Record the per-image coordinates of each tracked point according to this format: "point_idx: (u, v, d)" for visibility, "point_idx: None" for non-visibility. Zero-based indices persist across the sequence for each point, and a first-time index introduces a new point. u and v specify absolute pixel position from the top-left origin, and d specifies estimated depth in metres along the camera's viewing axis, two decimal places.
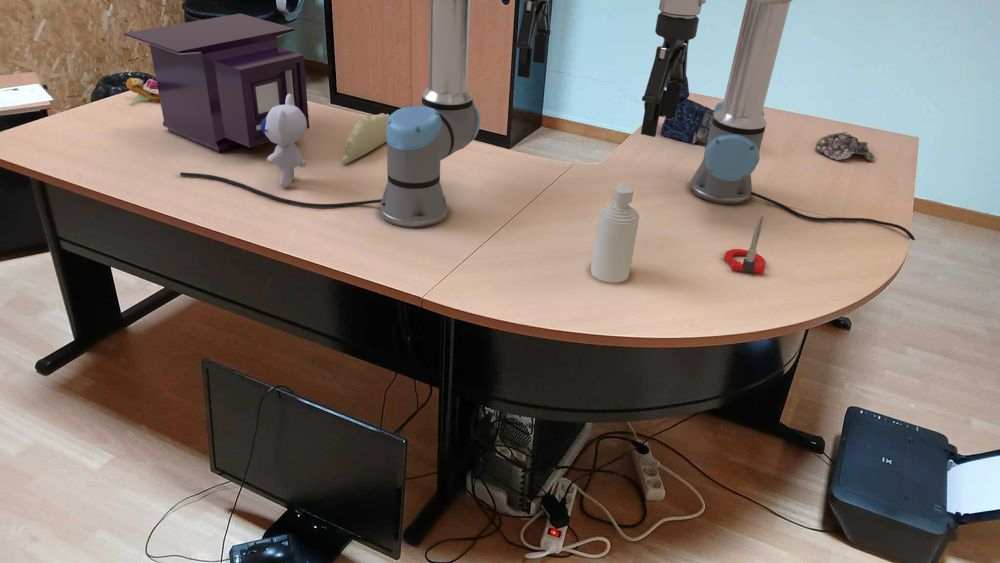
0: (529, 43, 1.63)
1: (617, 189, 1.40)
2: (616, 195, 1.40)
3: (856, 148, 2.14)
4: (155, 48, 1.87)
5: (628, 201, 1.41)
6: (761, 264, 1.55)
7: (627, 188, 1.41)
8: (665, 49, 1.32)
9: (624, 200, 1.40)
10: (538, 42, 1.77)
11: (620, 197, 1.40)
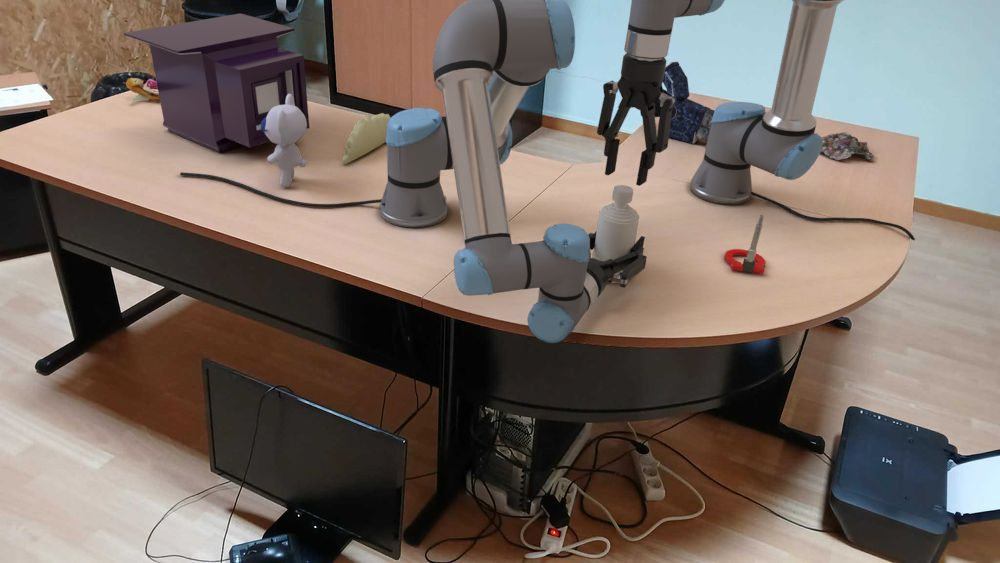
0: (606, 134, 1.37)
1: (617, 189, 1.40)
2: (616, 195, 1.40)
3: (856, 148, 2.14)
4: (155, 48, 1.87)
5: (628, 201, 1.41)
6: (761, 264, 1.55)
7: (627, 188, 1.41)
8: None
9: (624, 200, 1.40)
10: None
11: (620, 197, 1.40)
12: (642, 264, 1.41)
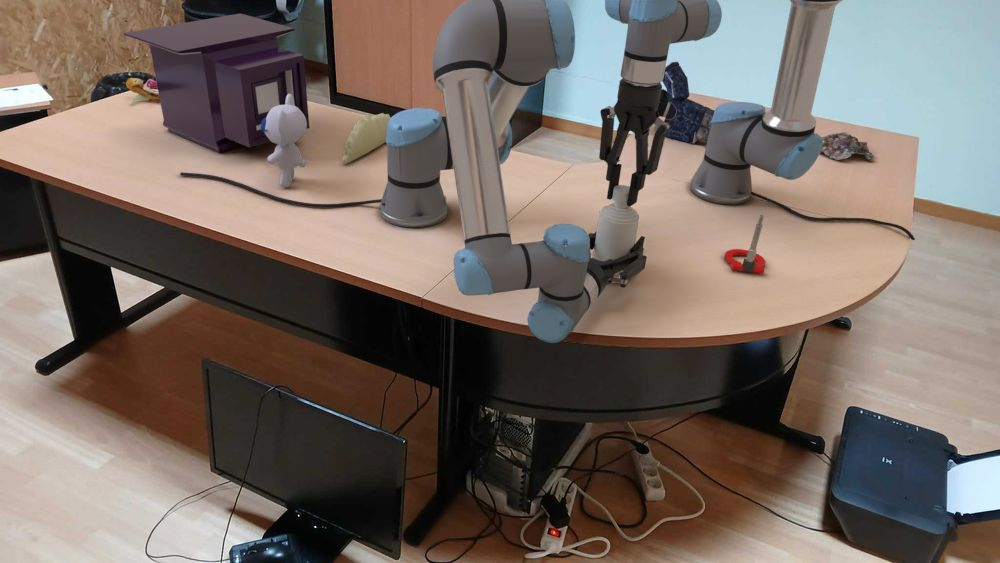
0: (607, 159, 1.39)
1: (617, 189, 1.40)
2: (616, 195, 1.40)
3: (856, 148, 2.14)
4: (155, 48, 1.87)
5: None
6: (761, 264, 1.55)
7: (627, 188, 1.41)
8: None
9: (624, 200, 1.40)
10: None
11: (620, 197, 1.40)
12: (642, 264, 1.41)
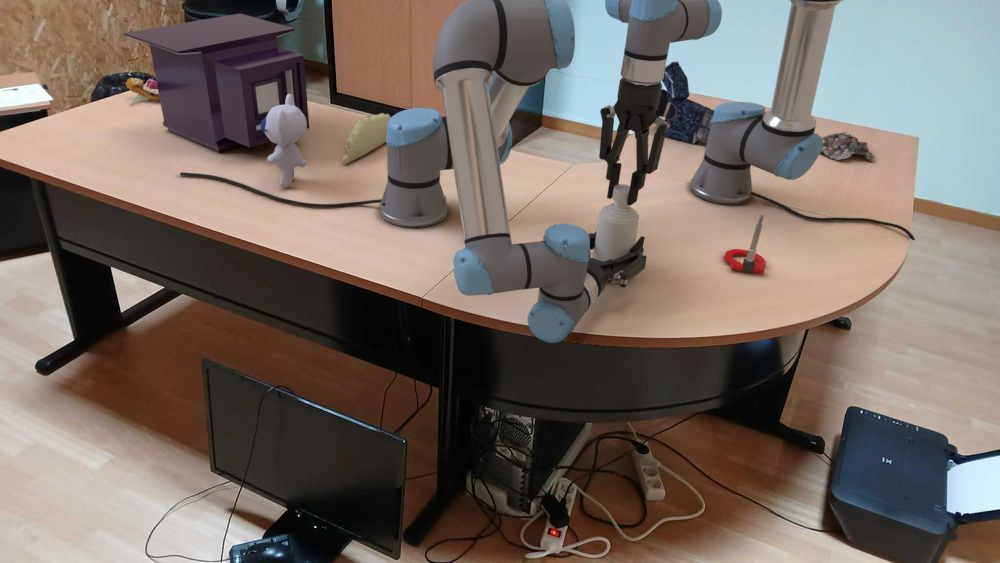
0: (608, 159, 1.39)
1: None
2: None
3: (856, 148, 2.14)
4: (155, 48, 1.87)
5: None
6: (761, 264, 1.55)
7: (619, 187, 1.41)
8: None
9: None
10: None
11: None
12: (642, 264, 1.41)
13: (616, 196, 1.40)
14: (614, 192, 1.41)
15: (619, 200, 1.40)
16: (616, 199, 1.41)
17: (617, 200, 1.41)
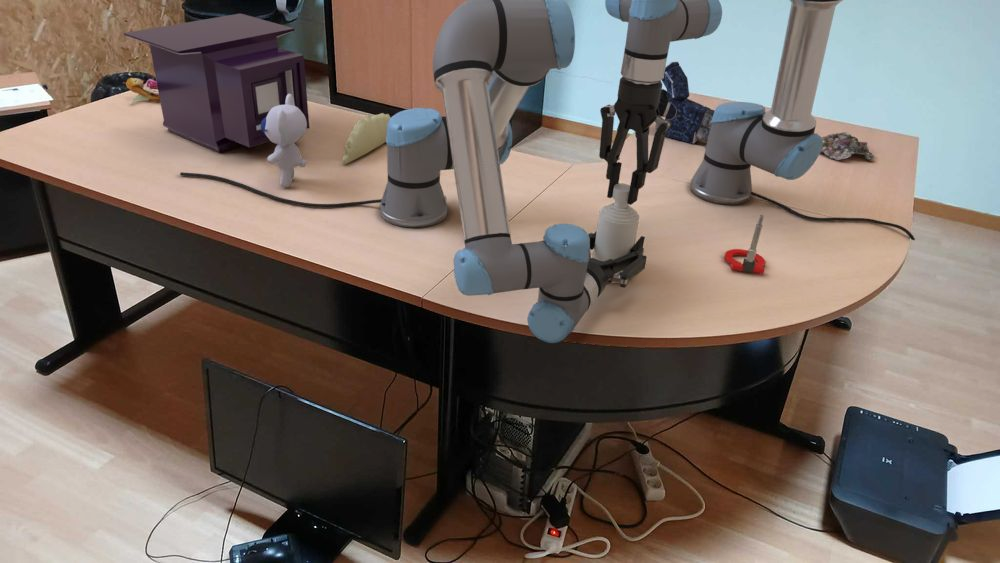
0: (608, 158, 1.39)
1: (618, 184, 1.42)
2: None
3: (856, 148, 2.14)
4: (155, 48, 1.87)
5: (617, 199, 1.40)
6: (761, 264, 1.55)
7: (627, 189, 1.40)
8: None
9: (614, 195, 1.41)
10: None
11: (613, 191, 1.41)
12: (642, 264, 1.41)
13: None
14: None
15: None
16: None
17: None
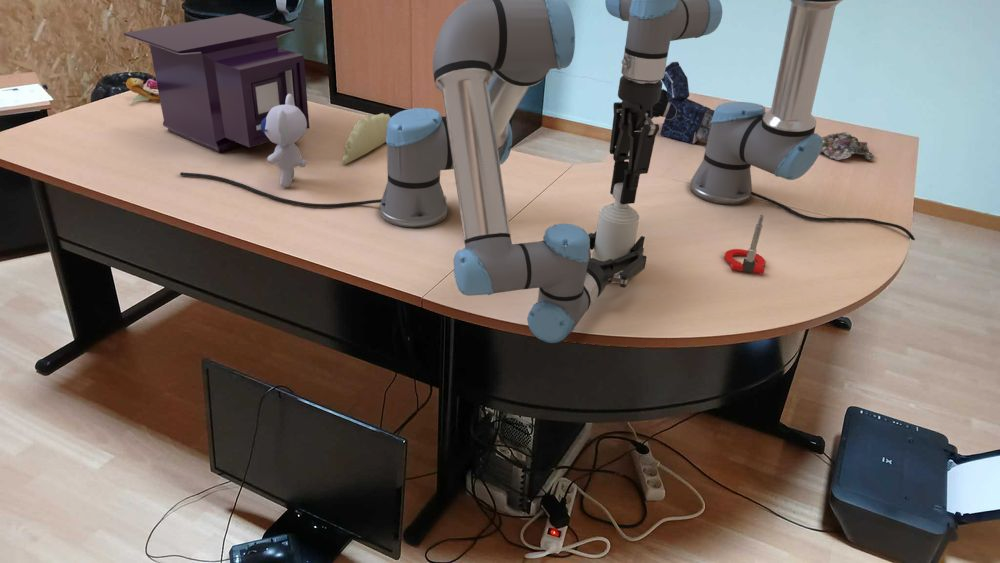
0: None
1: None
2: None
3: (856, 148, 2.14)
4: (155, 48, 1.87)
5: None
6: (761, 264, 1.55)
7: (622, 184, 1.41)
8: None
9: None
10: (619, 171, 1.41)
11: None
12: (642, 264, 1.41)
13: None
14: None
15: None
16: None
17: None
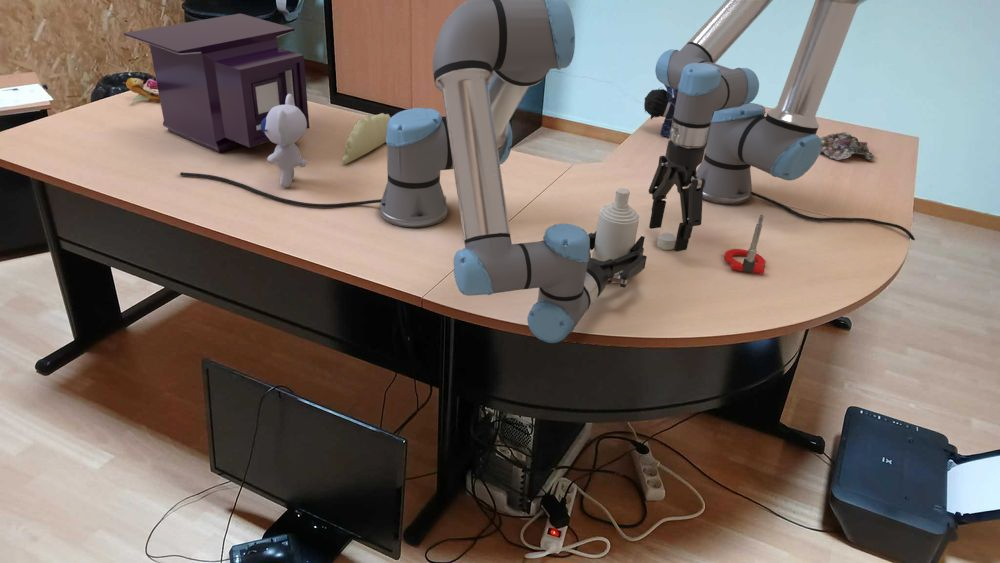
0: None
1: (668, 239, 1.60)
2: (671, 244, 1.60)
3: (856, 148, 2.14)
4: (155, 48, 1.87)
5: None
6: (761, 264, 1.55)
7: (666, 234, 1.62)
8: None
9: (674, 243, 1.61)
10: (658, 209, 1.62)
11: (674, 243, 1.61)
12: (642, 264, 1.41)
13: None
14: None
15: (657, 243, 1.62)
16: None
17: (657, 243, 1.62)
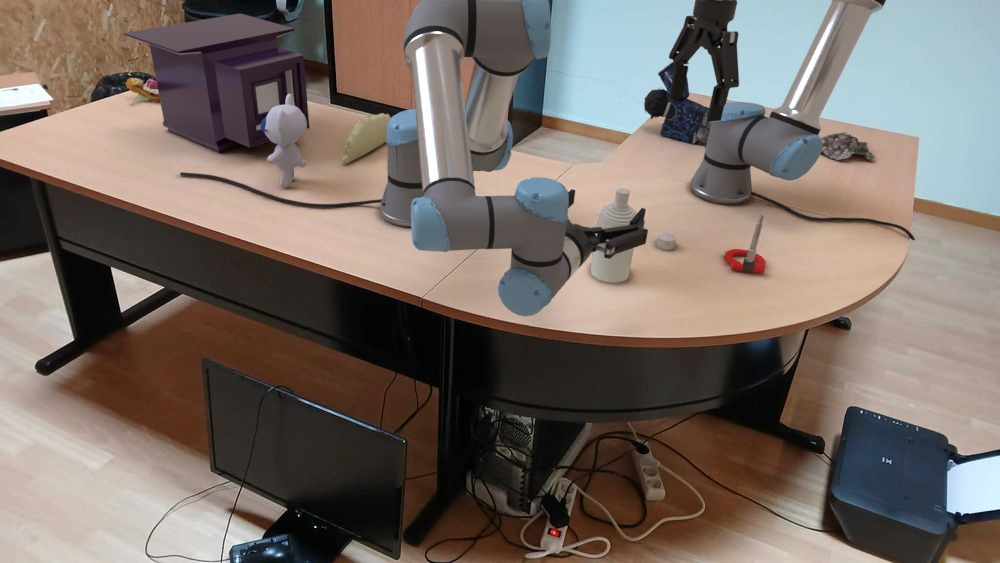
0: (731, 81, 1.36)
1: (668, 239, 1.60)
2: (671, 244, 1.60)
3: (856, 148, 2.14)
4: (155, 48, 1.87)
5: None
6: (761, 264, 1.55)
7: (666, 234, 1.62)
8: None
9: (674, 243, 1.61)
10: (679, 75, 1.48)
11: (674, 243, 1.61)
12: (640, 238, 1.23)
13: None
14: None
15: (657, 243, 1.62)
16: None
17: (657, 243, 1.62)
